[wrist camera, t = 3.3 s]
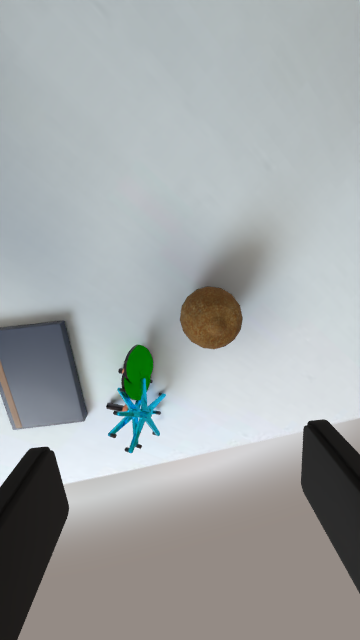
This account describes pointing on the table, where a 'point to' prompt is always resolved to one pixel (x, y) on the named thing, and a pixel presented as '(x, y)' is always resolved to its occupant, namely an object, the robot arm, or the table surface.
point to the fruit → (211, 317)
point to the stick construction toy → (136, 395)
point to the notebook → (39, 376)
